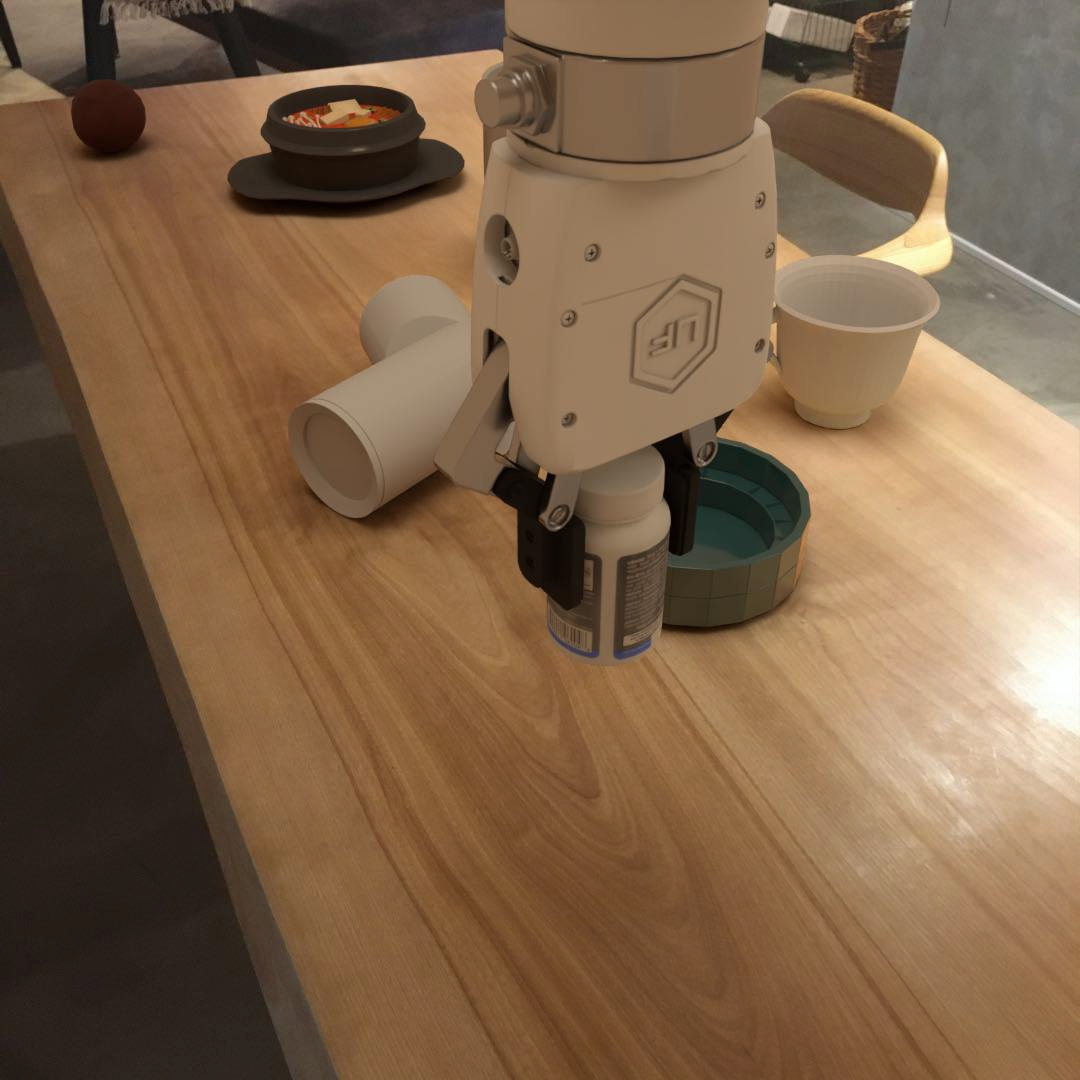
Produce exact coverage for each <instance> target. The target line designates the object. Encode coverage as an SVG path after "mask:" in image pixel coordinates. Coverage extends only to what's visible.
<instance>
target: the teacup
mask: <svg viewBox="0 0 1080 1080" xmlns="http://www.w3.org/2000/svg"><path fill="white" fill-rule="evenodd" d="M773 303H774V305H775V306H773V314H772V324H771V326H772V325H773V324H776V341H775V342H776V343H775V345H776V348H775V349H776V351H775V353H774V352H773V355H772V357H771V359H770V360H769V361H768V363H770V364H771V365H772V367H774V369H775V370H776V372H777V374H778V378H779V380H780V383H781V385H782V386H783V388H784V389H785V391H786V392H787V394H788V395H789V396H791V397H792V398H793V399H794V403H793V405H794V410H795V411H796V414H798V416H799V417H800V418H802V419H803V420H805V421H806V422H808V423H810V424H812V425H815V426H818V427H821V428H826V429H833V430H834V429H835V430H845V429H851V428H856V427H858V426H861V425H864V423H866V422H867V421H868V420H869V418H870V417H871V414H872V412H871V411H872V410H876V409H878V408H879V407H882V406H883V405H884V404H886V403H887V402H889V401H890V399H891V398H893V396H894V395H895V394H896V393H897V391H898V389H899V388H900V386H901V384H902V382H903V379H904V377H905V376H906V373H907V371H908V368H909V365H910V362H911V359H912V356H913V354H914V351H915V348H916V345H917V342H918V340H919V337H920V335H921V333H922V331H923V328H924V326H925V324H926V323H927V322H928V321H929V320H931V319H932V318H933V317H934V316H935V315H936V314H937V313H938V311H939V310H940V306H941V300H940V297H939V294H938V292H937V290H935V288H934V286H933V285H931V283H930V282H929V281H928V280H927V279H925V278H924V277H923V276H922V275H920V274H918V273H916V272H915V271H913V270H911V269H909V268H907V267H904V266H902V265H899V264H897V263H892V262H890V261H885V260H882V259H877V258H873V257H866V256H858V255H849V254H848V255H847V254H827V255H826V254H825V255H815V256H810V257H805V258H801V259H798V260H795V261H792V262H790V263H787V264H785V265H783V266H782V267H780V268H779V269H778V270H776V273H775V289H774V302H773Z"/></svg>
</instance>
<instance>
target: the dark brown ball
mask: <svg viewBox="0 0 1080 1080" xmlns="http://www.w3.org/2000/svg"><path fill="white" fill-rule="evenodd" d="M70 117H71V122H72V127H73V131H74V133H75V134H76V136H77V138H78V139H79V140H80V141H81V142H82V143H83V144H84V145H86V146H87V147H88V148H90V149H92V150H95V151H100V152H104V153H117V152H120V151H122V150H125V149H127V148H129V147H132V146H133V145H134V144H136V143H137V142H138V141H139V139H140V138H141V136H142V134H143V133H144V130H145V127H146V122H147V114H146V106H145V105H144V102H143V100H142V98H141V96H140V95H139V94H138V93H137V92H136V91H135V90H134V89H133V87H131V86H129V85H127V84H125V82H122V81H119V80H114V79H110V78H104V79H93V80H91V81H89V82H88V83H86V84H84V85H83V86H82V87H80V88H79V90H78V91H77V92H76V94H75V95H74V97H73V99H72V100H71V107H70Z"/></svg>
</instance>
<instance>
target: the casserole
mask: <svg viewBox="0 0 1080 1080" xmlns="http://www.w3.org/2000/svg"><path fill="white" fill-rule="evenodd" d="M426 125H427V123H426V120H425V118H424V117H423V116H422V115H421V114H419V111H418V109H417V107H416V104H415V102H414V100H413V99H412V98H411V97H410V96H409V95H407V94H405V93H404V92H401V91H398V90H396V89H392V88H388V87H383V86H375V85H367V84H335V85H323V86H315V87H310V88H305V89H301V90H296V91H294V92H290V93H288V94H285V95H283V96H281V97H279V98H277V99H276V100H274V101H272V103H271V104H269V106H268V109H267V113H266V118H265V121H264V122H263V123H262V125H261V128H260V130H259V131H260V136H261V137H262V139H263V140H264V142H266V143H267V144H268V145H269V149H270V151H269V152H265V153H261V154H257V155H256V154H255V155H252V156H248V157H243V158H242V159H239V160H238V161H237V162H236V163H234V165H232V166H231V167H230V169H229V170H228V173H227V182H228V184H229V186H230V188H232V189H233V190H235V191H236V192H237V193H238V194H241V195H243V196H245V197H247V198H251V199H255V200H272V201H274V200H276V201H277V200H279V201H280V200H281V201H282V200H285V201H286V200H289V201H290V200H291V201H294V200H295V201H306V202H318V203H324V204H336V205H337V204H338V205H339V204H340V205H343V204H345V205H347V204H359V203H367V202H373V201H377V200H381V199H384V198H388V197H392V196H397V195H399V194H403V193H405V192H407V191H411V190H413V189H416V188H418V187H421V186H424V185H428V184H434V183H438V182H442V181H445V180H448V179H451V178H453V177H455V176H457V175H459V174H461V172H462V171H463V170H464V168H465V161H466V160H465V159H464V158H465V157H464V156H463V154H462V153H461V152H460V151H458V150H457V149H456V148H454V146H451V145H450V144H447V143H446V142H443V141H441V140H438V139H435V138H434V139H433V138H423V137H421V135H422V134H423V133H424V131H425V130H426Z"/></svg>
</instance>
